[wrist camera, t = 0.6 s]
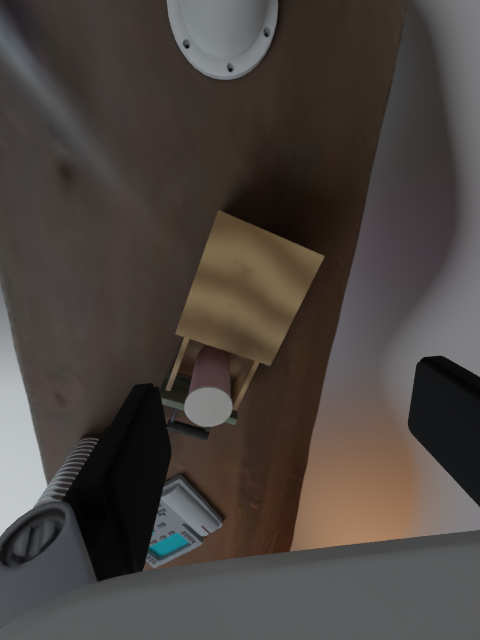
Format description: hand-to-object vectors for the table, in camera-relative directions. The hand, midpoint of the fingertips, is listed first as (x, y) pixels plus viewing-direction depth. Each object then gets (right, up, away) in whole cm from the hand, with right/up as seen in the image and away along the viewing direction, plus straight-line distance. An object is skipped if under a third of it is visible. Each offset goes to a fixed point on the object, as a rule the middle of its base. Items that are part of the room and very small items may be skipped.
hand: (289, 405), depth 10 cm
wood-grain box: (-1, +9, +33) cm, 34 cm away
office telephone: (-19, -43, +51) cm, 69 cm away
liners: (-6, -4, +35) cm, 36 cm away
